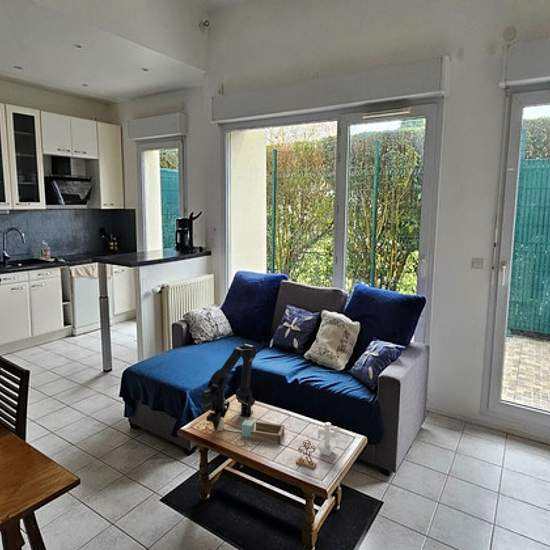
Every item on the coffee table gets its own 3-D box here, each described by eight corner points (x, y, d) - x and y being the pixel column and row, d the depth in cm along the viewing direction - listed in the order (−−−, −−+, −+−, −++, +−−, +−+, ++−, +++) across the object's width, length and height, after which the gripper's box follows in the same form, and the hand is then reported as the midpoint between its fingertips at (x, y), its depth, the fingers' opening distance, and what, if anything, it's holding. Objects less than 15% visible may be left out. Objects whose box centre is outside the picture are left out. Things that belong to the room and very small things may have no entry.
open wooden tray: (256, 429, 220) (256, 421, 219) (284, 433, 216) (284, 425, 216) (250, 439, 210) (250, 431, 209) (279, 444, 206) (280, 435, 206)
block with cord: (219, 426, 221) (219, 415, 220) (254, 431, 217) (254, 421, 216) (215, 431, 216) (215, 420, 215) (251, 436, 212) (251, 425, 211)
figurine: (320, 445, 206) (321, 417, 203) (338, 451, 201) (340, 422, 199) (314, 453, 200) (315, 423, 197) (333, 459, 195) (334, 429, 193)
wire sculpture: (295, 463, 191) (296, 439, 189) (298, 459, 194) (299, 435, 192) (313, 469, 187) (314, 444, 185) (316, 465, 190) (317, 440, 188)
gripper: (210, 388, 227) (210, 415, 229) (196, 404, 209) (196, 433, 211) (230, 391, 224) (229, 418, 227) (217, 407, 206) (217, 436, 209)
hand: (218, 426), depth 218 cm, fingers open, 7 cm apart
